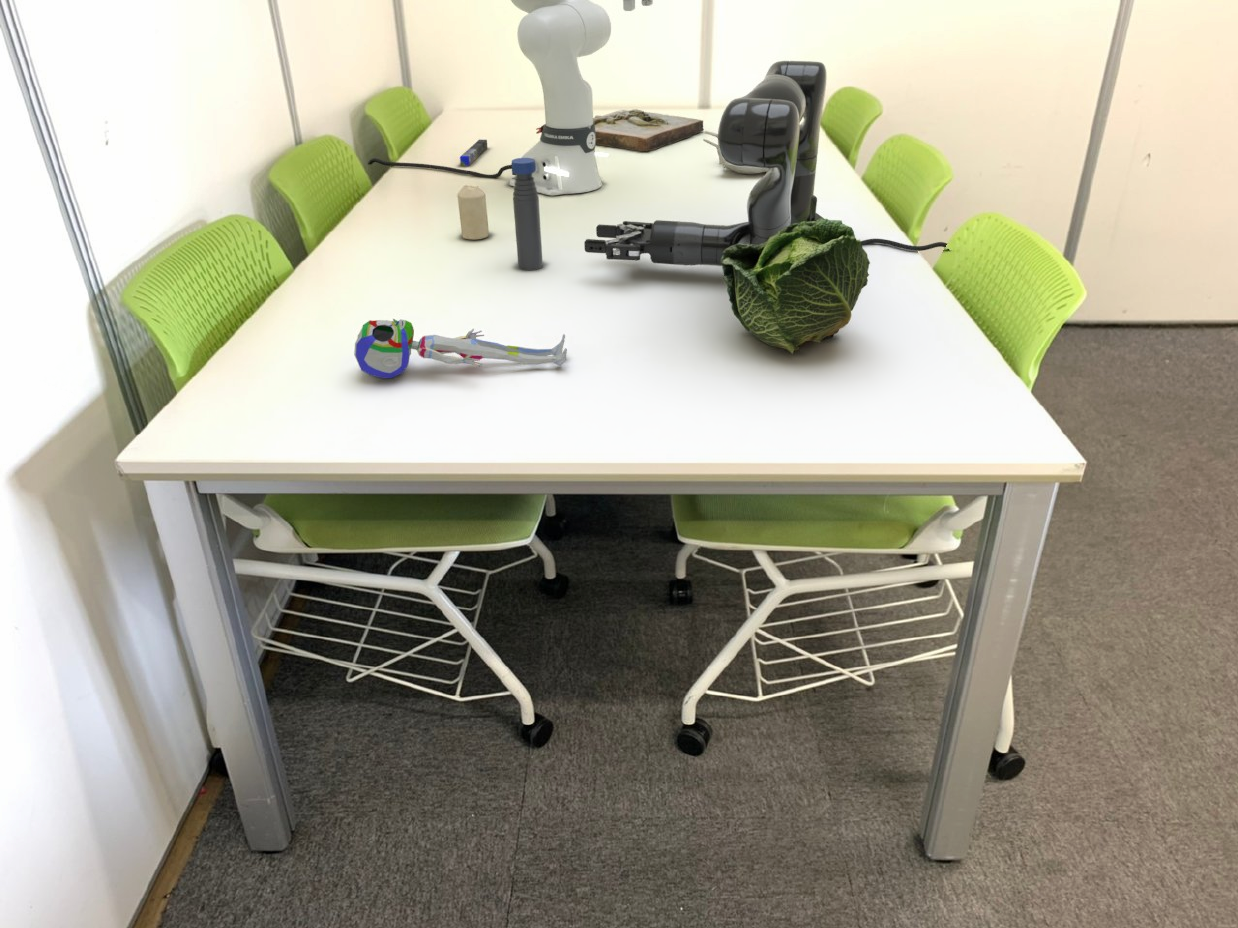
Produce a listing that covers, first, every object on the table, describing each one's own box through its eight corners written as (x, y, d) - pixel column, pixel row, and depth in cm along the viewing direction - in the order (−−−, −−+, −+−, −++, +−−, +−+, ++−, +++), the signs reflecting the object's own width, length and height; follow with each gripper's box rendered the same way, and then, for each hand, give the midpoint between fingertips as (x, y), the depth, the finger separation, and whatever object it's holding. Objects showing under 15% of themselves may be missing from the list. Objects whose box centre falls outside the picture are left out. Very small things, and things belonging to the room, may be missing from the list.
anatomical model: (705, 127, 227) (805, 126, 223) (705, 164, 232) (803, 164, 228) (701, 141, 214) (807, 140, 211) (701, 180, 219) (804, 180, 216)
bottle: (513, 266, 168) (504, 163, 158) (530, 260, 171) (523, 158, 161) (530, 272, 166) (523, 167, 156) (547, 265, 169) (541, 162, 159)
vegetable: (752, 365, 147) (694, 260, 139) (847, 299, 148) (795, 192, 140) (808, 391, 128) (745, 272, 121) (916, 316, 130) (860, 193, 122)
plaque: (647, 125, 237) (559, 112, 252) (647, 153, 241) (560, 139, 256) (706, 107, 258) (622, 97, 273) (705, 133, 262) (622, 121, 277)
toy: (569, 347, 126) (349, 329, 122) (563, 400, 131) (350, 385, 126) (565, 318, 135) (359, 301, 130) (559, 369, 139) (360, 354, 134)
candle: (493, 232, 185) (489, 183, 180) (481, 241, 181) (476, 191, 175) (469, 230, 187) (464, 181, 181) (457, 238, 182) (451, 189, 177)
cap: (507, 172, 159) (506, 161, 158) (524, 167, 162) (523, 156, 161) (523, 175, 157) (522, 164, 156) (540, 170, 159) (540, 160, 158)
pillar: (486, 139, 247) (467, 157, 231) (487, 147, 249) (468, 166, 232) (479, 139, 248) (459, 157, 231) (479, 147, 249) (460, 166, 232)
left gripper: (641, -79, 170) (642, 2, 177) (599, -77, 154) (602, 13, 161) (673, -80, 168) (672, 3, 175) (634, -77, 152) (634, 14, 159)
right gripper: (685, 210, 164) (599, 206, 167) (672, 235, 152) (580, 229, 155) (684, 250, 168) (600, 245, 171) (671, 277, 156) (581, 271, 159)
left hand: (638, 8), depth 168 cm, fingers open, 8 cm apart
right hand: (591, 238), depth 163 cm, fingers open, 8 cm apart
